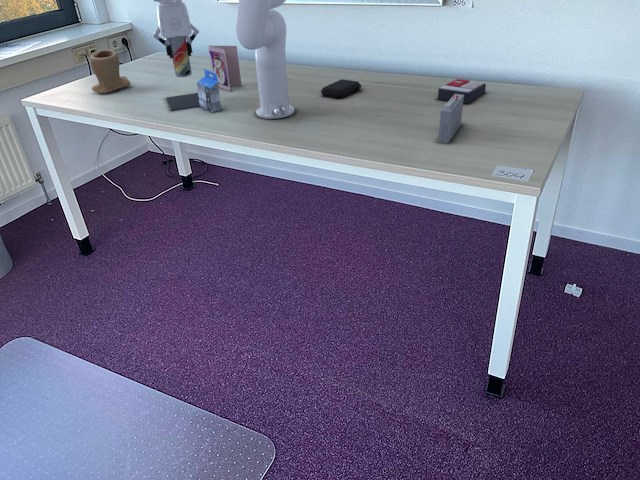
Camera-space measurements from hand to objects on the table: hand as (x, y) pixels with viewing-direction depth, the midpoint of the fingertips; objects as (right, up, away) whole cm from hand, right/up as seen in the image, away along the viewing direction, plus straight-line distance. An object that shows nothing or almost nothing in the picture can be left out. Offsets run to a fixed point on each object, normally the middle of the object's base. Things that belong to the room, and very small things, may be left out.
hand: (180, 56), depth 180 cm
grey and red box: (+97, -14, 0) cm, 98 cm away
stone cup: (-33, -4, +26) cm, 42 cm away
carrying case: (+56, -10, +9) cm, 58 cm away
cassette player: (+86, -33, -29) cm, 96 cm away
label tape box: (+10, -18, 0) cm, 21 cm away
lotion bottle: (0, -6, +4) cm, 7 cm away
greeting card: (+13, -4, +23) cm, 26 cm away
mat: (+1, -13, +8) cm, 16 cm away
